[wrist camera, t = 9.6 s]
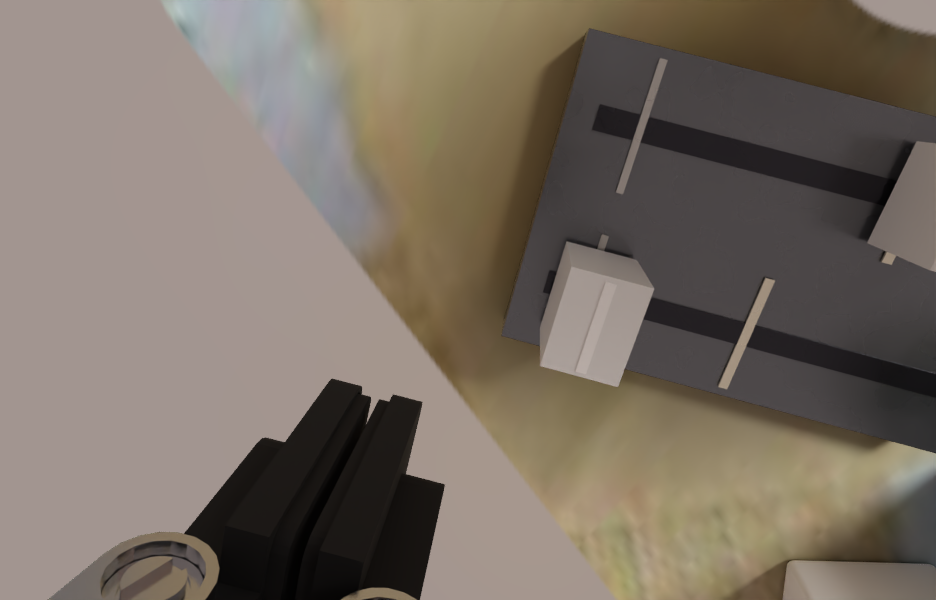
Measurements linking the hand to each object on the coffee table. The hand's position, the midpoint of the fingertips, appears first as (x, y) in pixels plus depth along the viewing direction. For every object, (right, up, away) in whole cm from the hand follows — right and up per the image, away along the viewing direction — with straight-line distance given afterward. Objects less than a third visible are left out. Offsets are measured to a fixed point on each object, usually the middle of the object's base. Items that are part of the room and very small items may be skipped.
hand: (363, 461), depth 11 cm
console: (+15, +5, +16) cm, 22 cm away
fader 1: (+7, +3, +15) cm, 17 cm away
